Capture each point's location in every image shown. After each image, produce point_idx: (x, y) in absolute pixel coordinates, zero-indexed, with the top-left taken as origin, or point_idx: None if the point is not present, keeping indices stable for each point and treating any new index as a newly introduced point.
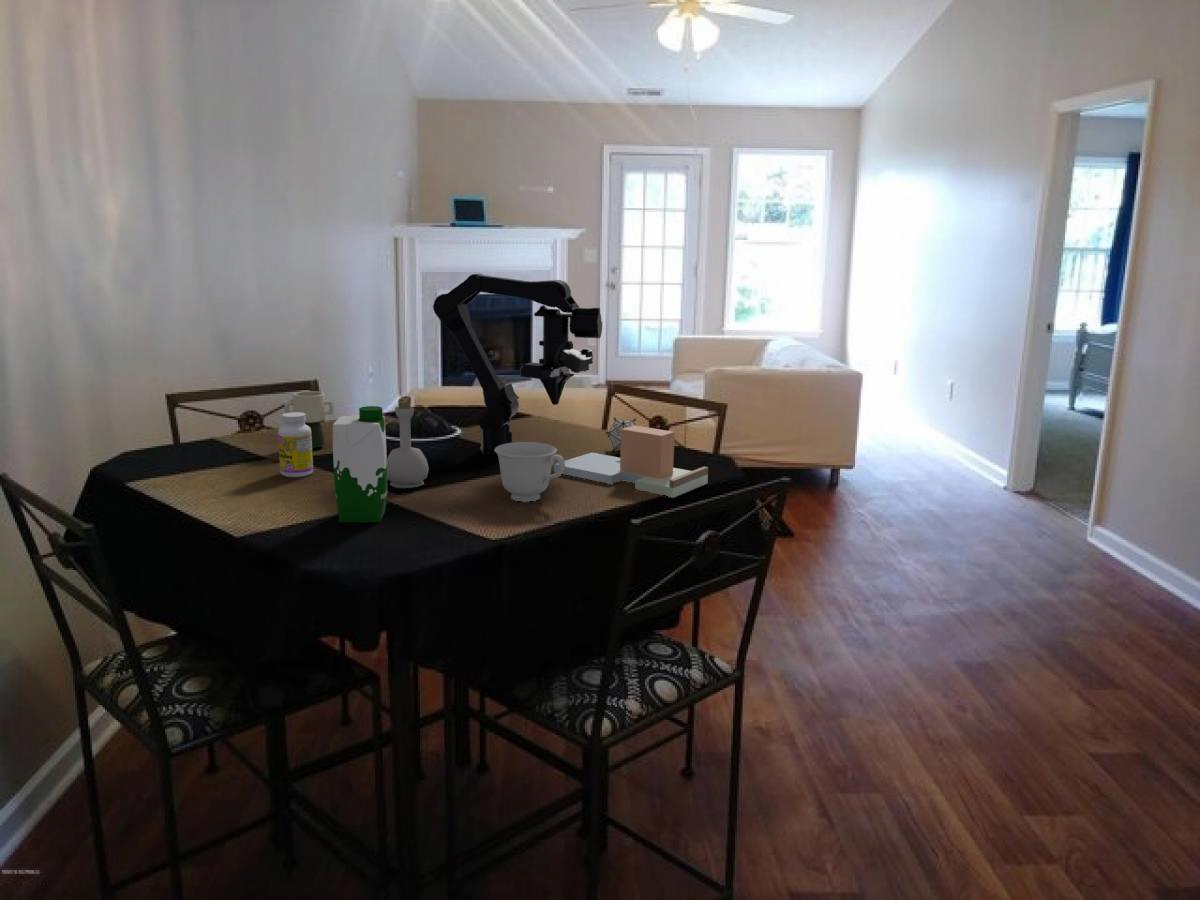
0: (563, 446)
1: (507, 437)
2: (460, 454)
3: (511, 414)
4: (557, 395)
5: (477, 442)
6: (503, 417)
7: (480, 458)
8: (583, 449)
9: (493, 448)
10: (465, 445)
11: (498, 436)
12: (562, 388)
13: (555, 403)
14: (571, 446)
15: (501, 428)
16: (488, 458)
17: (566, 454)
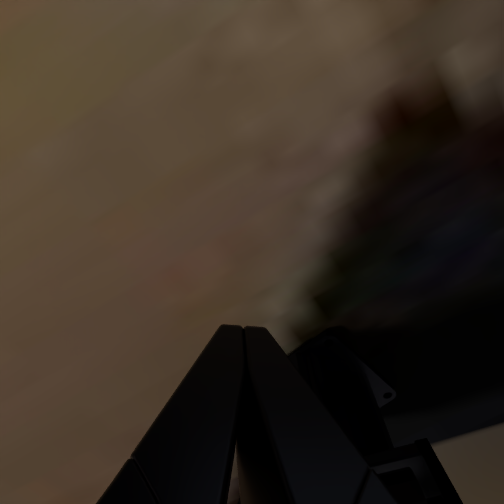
0: (48, 225)
1: (325, 398)
2: None
3: (412, 488)
4: (282, 402)
5: (231, 486)
6: (453, 489)
7: (447, 371)
8: (18, 98)
9: (371, 389)
10: None
11: (376, 419)
12: (146, 492)
13: (270, 339)
14: (16, 193)
15: (375, 447)
16: (435, 351)
17: (185, 117)
